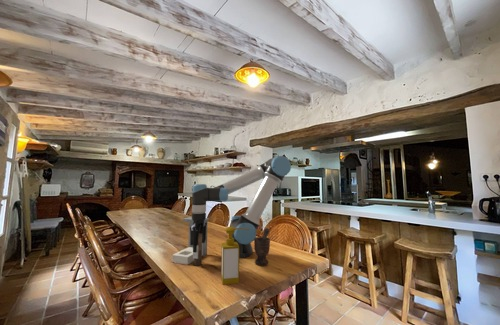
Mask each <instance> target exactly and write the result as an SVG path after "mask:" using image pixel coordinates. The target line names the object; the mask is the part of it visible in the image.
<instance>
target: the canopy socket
mask: <svg viewBox="0 0 500 325" xmlns="http://www.w3.org/2000/svg"><path fill="white" fill-rule="evenodd" d="M209 221H210V219H209V217H206V219H205V220H204V222H206V223H207V224H208V222H209ZM182 222H183V223H185V222H186V223H188V246H187V247H186V248H184V249H182V250H180V251H178V252H175V253H173V254H172V260H171V262H172V263H173V262H174V264H181V265H188V266H189V264H191V263H194V258H193V246H191V245H190V226H193V222H194V221H193V220H192V216H189V217H185V218H182ZM196 231H197V230H196ZM207 252H208V225H207V226H206V240H205V243H203V256H207V254H208V253H207Z"/></svg>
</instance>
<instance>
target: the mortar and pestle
mask: <svg viewBox="0 0 500 325" xmlns="http://www.w3.org/2000/svg"><path fill="white" fill-rule="evenodd" d="M269 234H270V229H269V228H268V227H267V228H266V227H265V229H264V230H263V233H262V236H256V237H255V239H254V241H253V244H254V245H253V249H254V253H255V255H257V257H256V259H255V260H254V264H255V265H258V266H263V267H264V266H267V265H269V260H268V259H267V256H268V255H269V252H270V249H271V248H270V246H271V245H270V243H271V239H270V238H269V237H268V236H269Z"/></svg>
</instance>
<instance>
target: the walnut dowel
mask: <svg viewBox="0 0 500 325" xmlns="http://www.w3.org/2000/svg"><path fill="white" fill-rule="evenodd" d="M197 245H198V259H195V258H194V261H193V266H195V267H199V266H200V267H201V266H202V264H203V263H202V257H203V256H202V233H199V237H198V244H197Z"/></svg>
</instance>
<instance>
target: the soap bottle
mask: <svg viewBox="0 0 500 325" xmlns="http://www.w3.org/2000/svg"><path fill="white" fill-rule="evenodd" d="M236 229H246V228H234V227H231V226H228V227H226V228H224V231H225V232H226V234H227V235H228V237H226V239H225V240H226V242H221V266H220V267H221V271H220V272H221V273H220V275H221V278H220V279H221V285H230V284H231V285H232V284H239V283H240V258H239V245H238V243H237V242H234V238H232V234H234V233H235V230H236ZM246 230H250V229H246Z"/></svg>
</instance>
